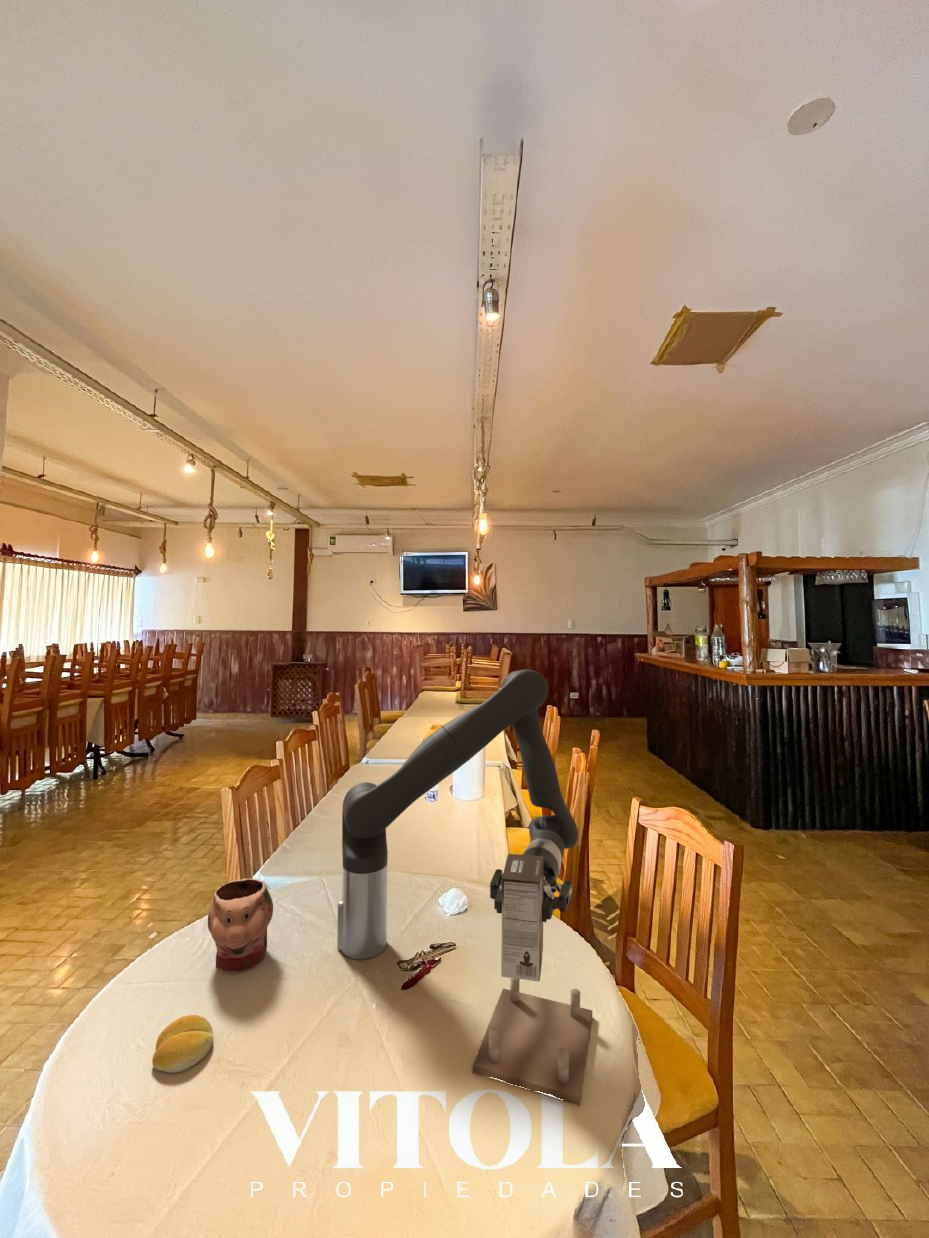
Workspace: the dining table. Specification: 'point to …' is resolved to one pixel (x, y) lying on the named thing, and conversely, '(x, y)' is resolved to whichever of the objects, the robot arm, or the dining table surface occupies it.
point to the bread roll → (182, 1044)
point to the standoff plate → (537, 1043)
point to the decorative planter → (240, 924)
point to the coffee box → (522, 917)
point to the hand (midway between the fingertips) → (521, 911)
